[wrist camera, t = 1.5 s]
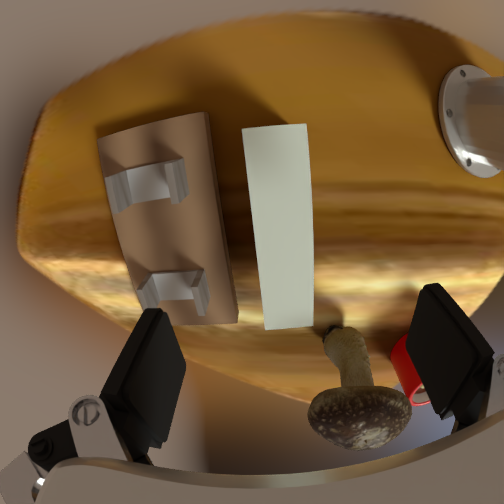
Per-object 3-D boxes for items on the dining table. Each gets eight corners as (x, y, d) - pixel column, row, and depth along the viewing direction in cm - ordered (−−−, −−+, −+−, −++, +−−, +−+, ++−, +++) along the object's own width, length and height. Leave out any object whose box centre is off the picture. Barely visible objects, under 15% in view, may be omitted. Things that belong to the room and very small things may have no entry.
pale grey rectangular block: (293, 126, 21) (308, 123, 14) (302, 273, 27) (315, 325, 20) (248, 130, 21) (241, 128, 14) (264, 276, 27) (265, 329, 20)
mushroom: (379, 338, 30) (418, 437, 17) (317, 365, 32) (334, 469, 19) (360, 284, 27) (416, 399, 13) (287, 317, 29) (299, 442, 15)
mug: (446, 294, 27) (477, 333, 20) (432, 356, 32) (451, 393, 25) (395, 311, 29) (421, 357, 21) (387, 372, 33) (403, 413, 26)
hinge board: (208, 113, 20) (194, 108, 16) (238, 311, 29) (234, 343, 24) (107, 137, 21) (77, 142, 17) (154, 314, 30) (139, 343, 25)
